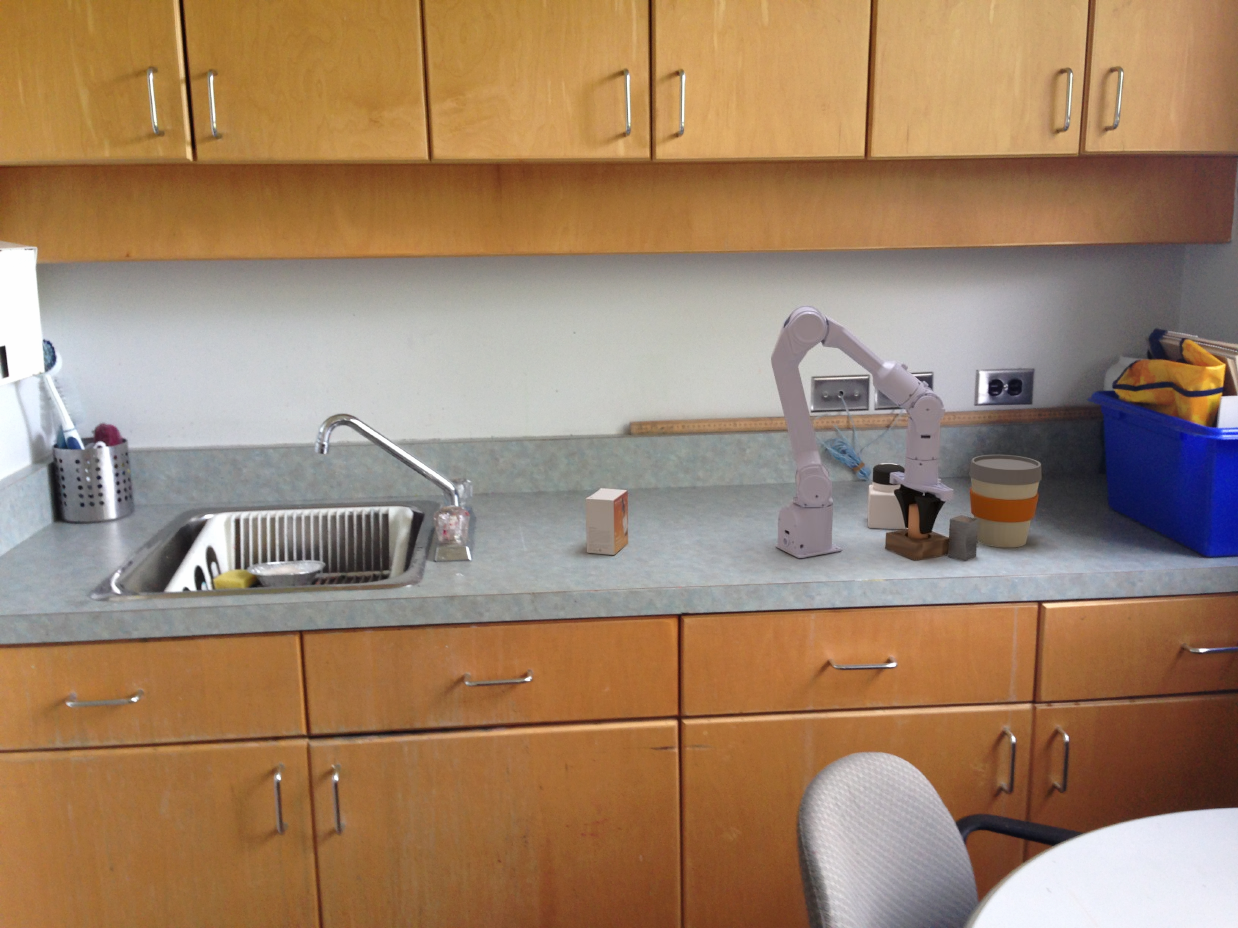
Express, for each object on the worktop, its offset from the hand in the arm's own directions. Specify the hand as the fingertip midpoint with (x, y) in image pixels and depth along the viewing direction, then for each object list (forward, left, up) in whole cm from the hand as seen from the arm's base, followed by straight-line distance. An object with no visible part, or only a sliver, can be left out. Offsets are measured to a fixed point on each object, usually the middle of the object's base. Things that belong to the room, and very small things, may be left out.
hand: (918, 530), depth 187 cm
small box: (-49, +28, -4) cm, 57 cm away
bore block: (0, 0, -4) cm, 4 cm away
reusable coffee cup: (+18, -2, -4) cm, 19 cm away
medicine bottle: (+6, +16, -4) cm, 18 cm away
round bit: (0, 0, -2) cm, 2 cm away
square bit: (+5, -6, -4) cm, 9 cm away
